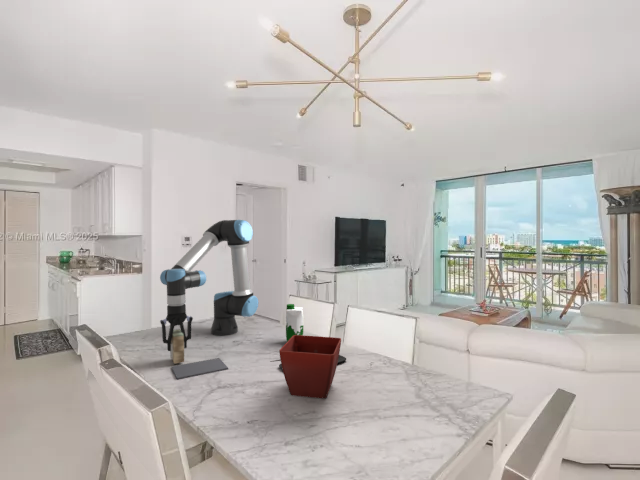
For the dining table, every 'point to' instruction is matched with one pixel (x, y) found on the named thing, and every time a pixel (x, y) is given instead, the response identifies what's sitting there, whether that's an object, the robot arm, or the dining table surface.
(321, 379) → the plant pot
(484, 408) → the dining table surface
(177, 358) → the oak slab
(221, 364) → the rubber mat
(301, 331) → the milk carton
